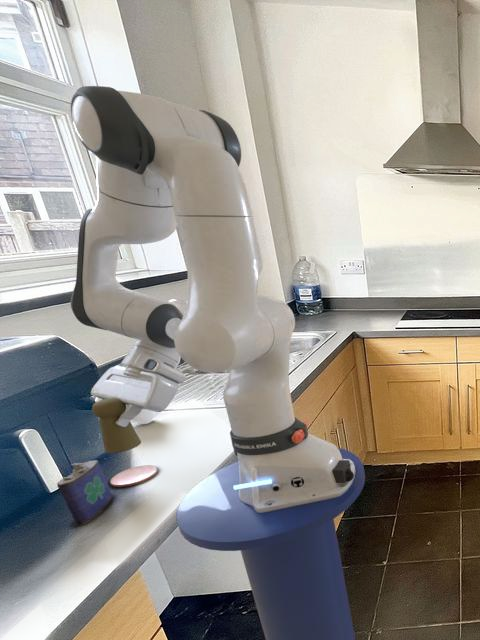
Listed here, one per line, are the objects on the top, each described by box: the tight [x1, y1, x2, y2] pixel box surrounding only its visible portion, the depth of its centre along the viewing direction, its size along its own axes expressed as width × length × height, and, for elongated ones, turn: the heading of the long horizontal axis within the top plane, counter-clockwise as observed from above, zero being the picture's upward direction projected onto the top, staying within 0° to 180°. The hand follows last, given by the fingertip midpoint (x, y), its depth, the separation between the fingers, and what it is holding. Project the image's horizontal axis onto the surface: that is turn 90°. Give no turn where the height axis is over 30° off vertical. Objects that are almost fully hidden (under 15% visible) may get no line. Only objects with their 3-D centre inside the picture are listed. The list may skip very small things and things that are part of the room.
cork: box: [91, 398, 142, 454], centre depth 89 cm, size 6×6×11 cm
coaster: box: [109, 464, 159, 488], centre depth 93 cm, size 8×8×1 cm
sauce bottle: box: [126, 405, 159, 425], centre depth 116 cm, size 8×8×18 cm
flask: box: [56, 459, 113, 526], centre depth 81 cm, size 9×3×11 cm, turn 15°
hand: (111, 423), depth 88 cm, fingers closed on cork, 4 cm apart
